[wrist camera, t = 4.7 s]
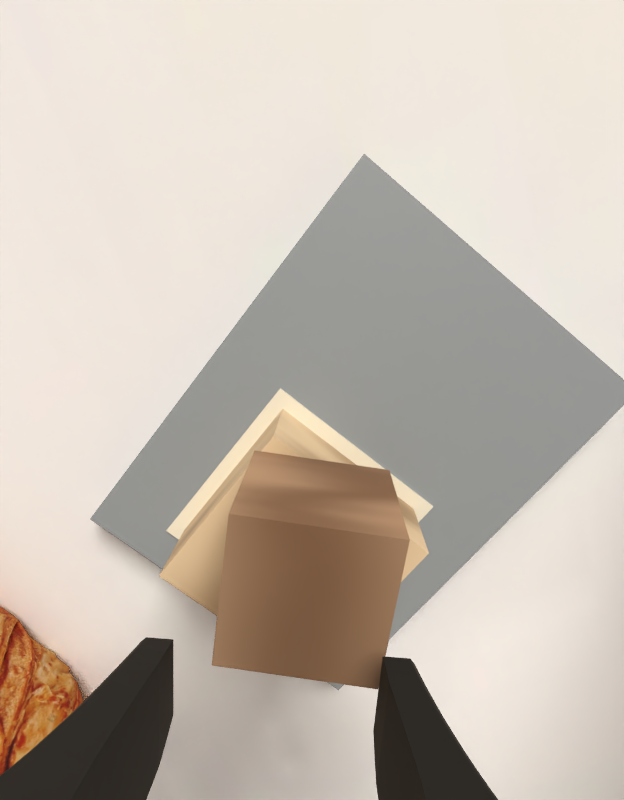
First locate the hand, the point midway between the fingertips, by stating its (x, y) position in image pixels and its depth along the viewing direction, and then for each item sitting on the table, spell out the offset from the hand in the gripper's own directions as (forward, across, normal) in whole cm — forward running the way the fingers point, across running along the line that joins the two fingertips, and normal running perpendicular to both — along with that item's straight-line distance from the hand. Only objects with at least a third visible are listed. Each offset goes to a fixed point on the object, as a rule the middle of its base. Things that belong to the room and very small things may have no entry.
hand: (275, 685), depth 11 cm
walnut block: (+5, -1, -2) cm, 5 cm away
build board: (+9, -2, -2) cm, 9 cm away
